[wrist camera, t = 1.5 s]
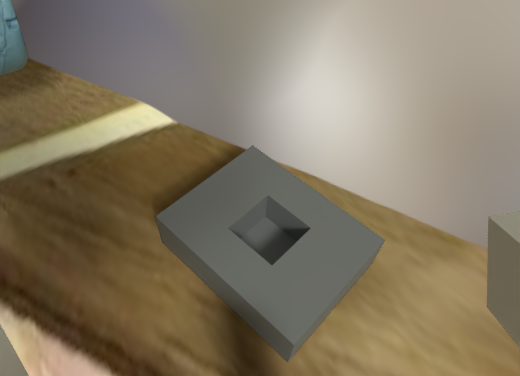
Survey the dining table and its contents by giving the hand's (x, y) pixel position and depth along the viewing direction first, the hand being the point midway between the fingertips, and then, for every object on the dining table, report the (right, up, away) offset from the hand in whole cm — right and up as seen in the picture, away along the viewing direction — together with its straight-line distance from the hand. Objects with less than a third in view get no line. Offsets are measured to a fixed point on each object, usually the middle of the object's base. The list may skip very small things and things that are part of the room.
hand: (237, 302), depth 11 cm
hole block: (+1, -4, +33) cm, 33 cm away
